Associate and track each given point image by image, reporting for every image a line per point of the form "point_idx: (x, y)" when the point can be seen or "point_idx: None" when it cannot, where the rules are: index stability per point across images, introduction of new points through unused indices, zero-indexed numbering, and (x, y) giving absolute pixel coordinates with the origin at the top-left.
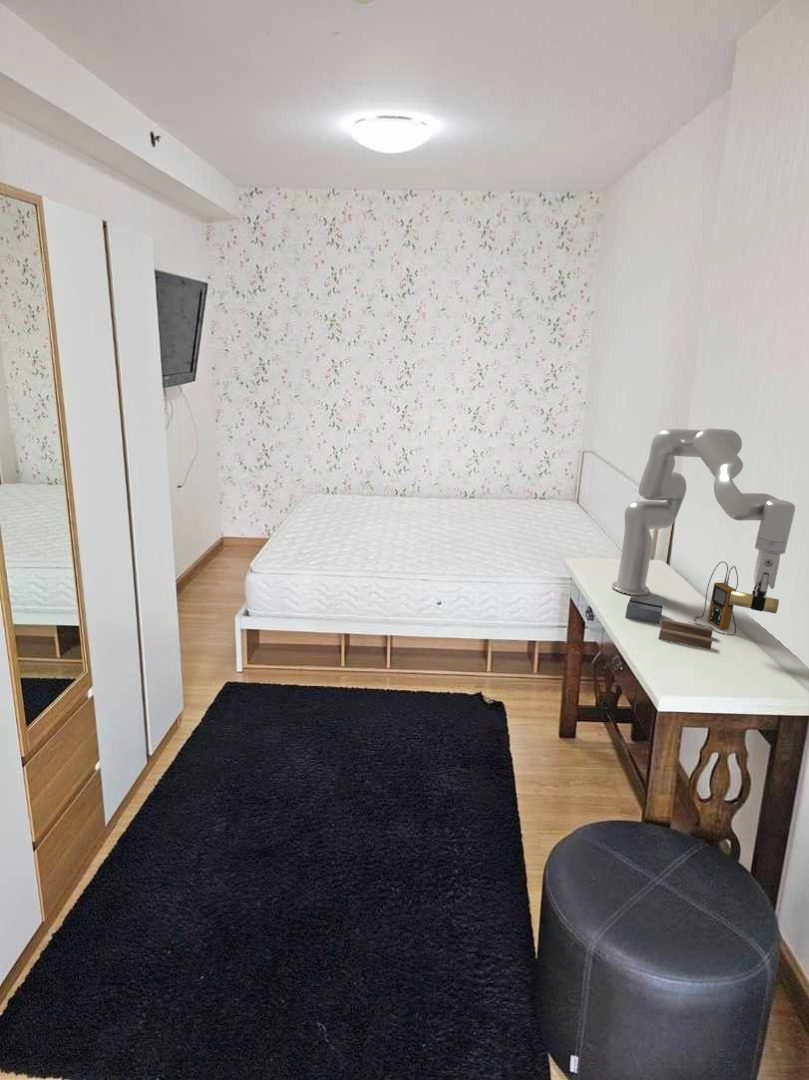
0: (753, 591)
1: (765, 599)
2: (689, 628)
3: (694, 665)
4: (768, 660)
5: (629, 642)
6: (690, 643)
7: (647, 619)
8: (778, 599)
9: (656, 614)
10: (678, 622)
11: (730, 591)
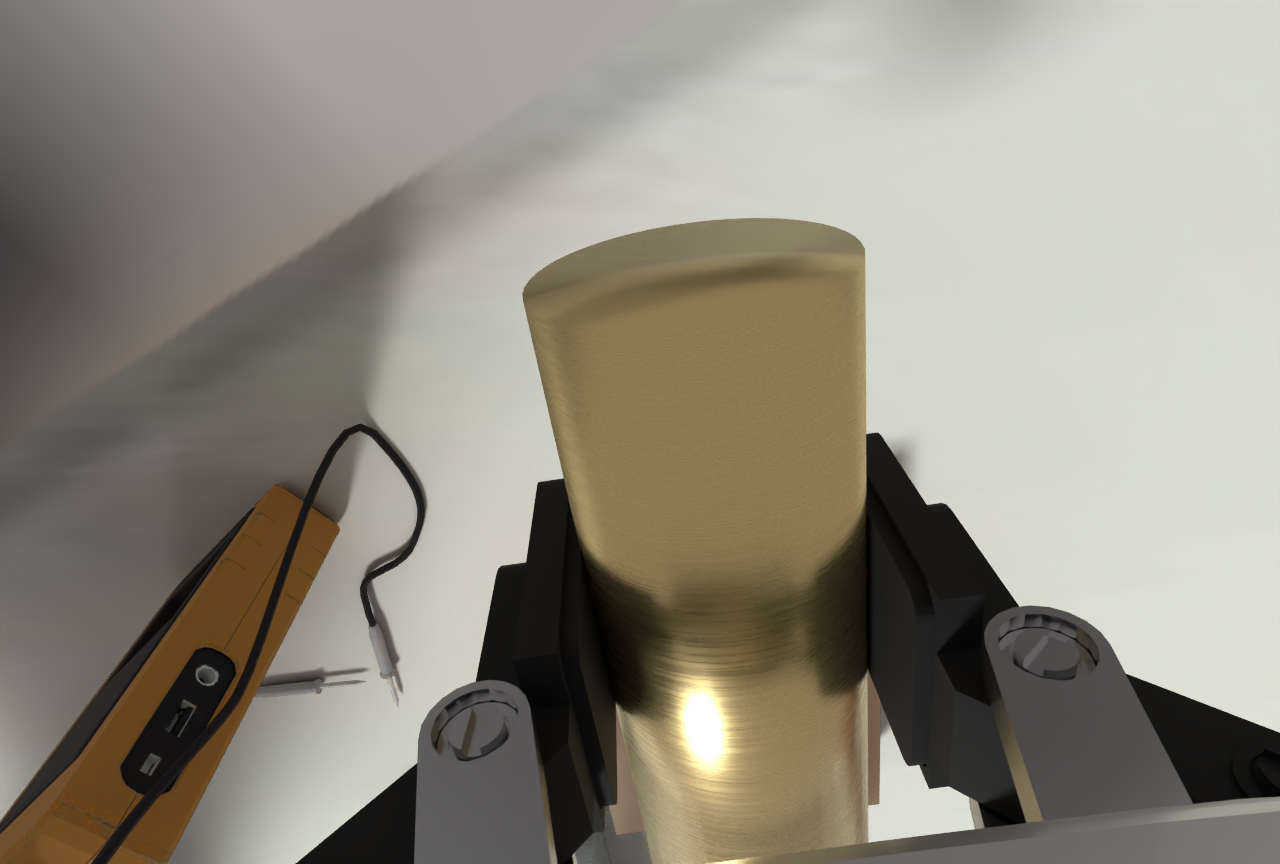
0: (602, 811)
1: (964, 575)
2: None
3: (1233, 533)
4: (808, 74)
5: None
6: None
7: (605, 860)
8: (685, 332)
9: None
10: (618, 767)
11: (154, 838)
